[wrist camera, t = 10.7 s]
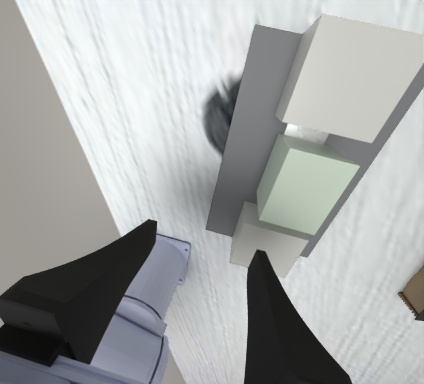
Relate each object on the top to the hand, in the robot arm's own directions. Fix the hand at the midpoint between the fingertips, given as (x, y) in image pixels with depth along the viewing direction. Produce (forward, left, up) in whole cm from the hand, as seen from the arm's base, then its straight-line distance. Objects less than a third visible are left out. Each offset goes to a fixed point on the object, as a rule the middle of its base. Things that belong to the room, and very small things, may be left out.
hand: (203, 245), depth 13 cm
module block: (+4, -6, -8) cm, 11 cm away
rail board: (+4, -6, -9) cm, 12 cm away
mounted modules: (+4, -6, -9) cm, 12 cm away
